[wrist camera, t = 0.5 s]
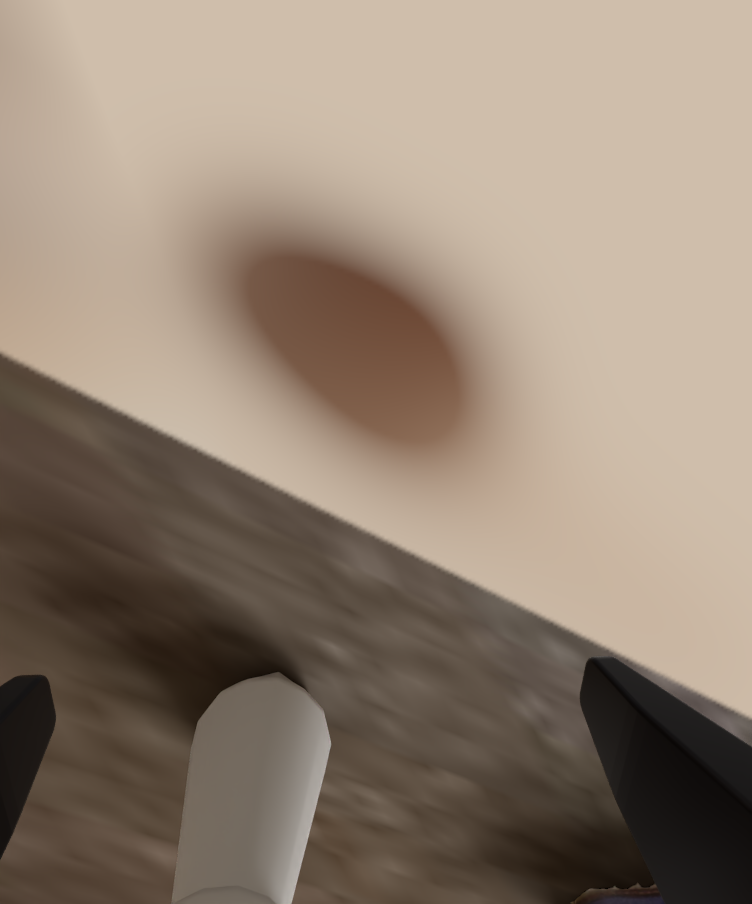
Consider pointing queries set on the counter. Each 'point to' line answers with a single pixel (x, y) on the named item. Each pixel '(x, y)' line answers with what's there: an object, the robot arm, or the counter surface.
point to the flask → (621, 896)
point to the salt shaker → (251, 794)
